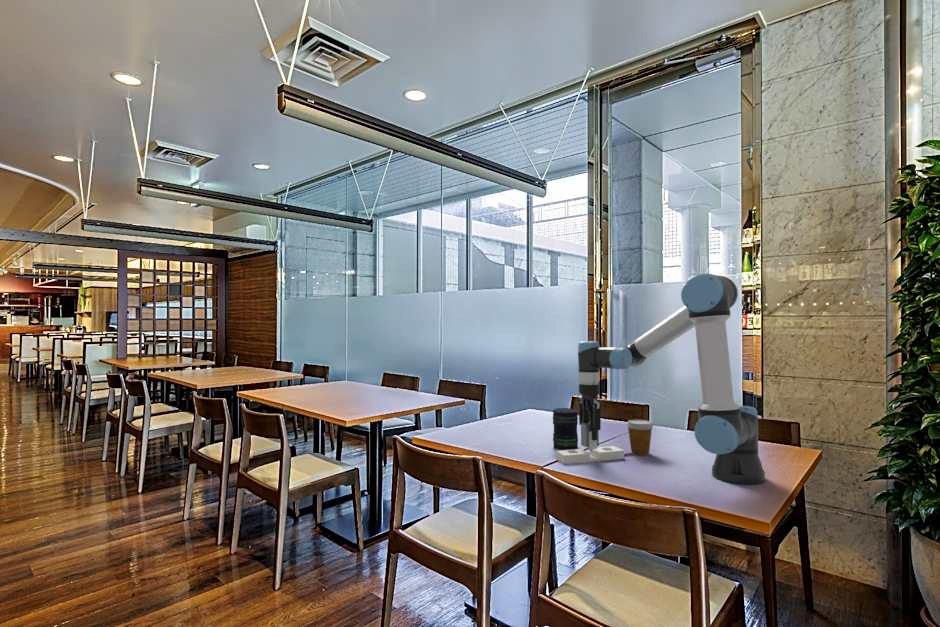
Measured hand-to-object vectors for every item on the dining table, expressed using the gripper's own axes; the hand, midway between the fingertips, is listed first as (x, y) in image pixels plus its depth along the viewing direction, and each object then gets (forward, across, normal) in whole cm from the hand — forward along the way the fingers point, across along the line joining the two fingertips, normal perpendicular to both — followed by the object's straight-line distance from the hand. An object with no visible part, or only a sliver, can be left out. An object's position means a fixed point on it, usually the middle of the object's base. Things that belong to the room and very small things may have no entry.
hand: (589, 447), depth 189 cm
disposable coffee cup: (+4, +1, -22) cm, 22 cm away
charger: (+1, 0, 0) cm, 1 cm away
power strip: (+4, 0, -3) cm, 5 cm away
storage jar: (+4, +18, +1) cm, 19 cm away
